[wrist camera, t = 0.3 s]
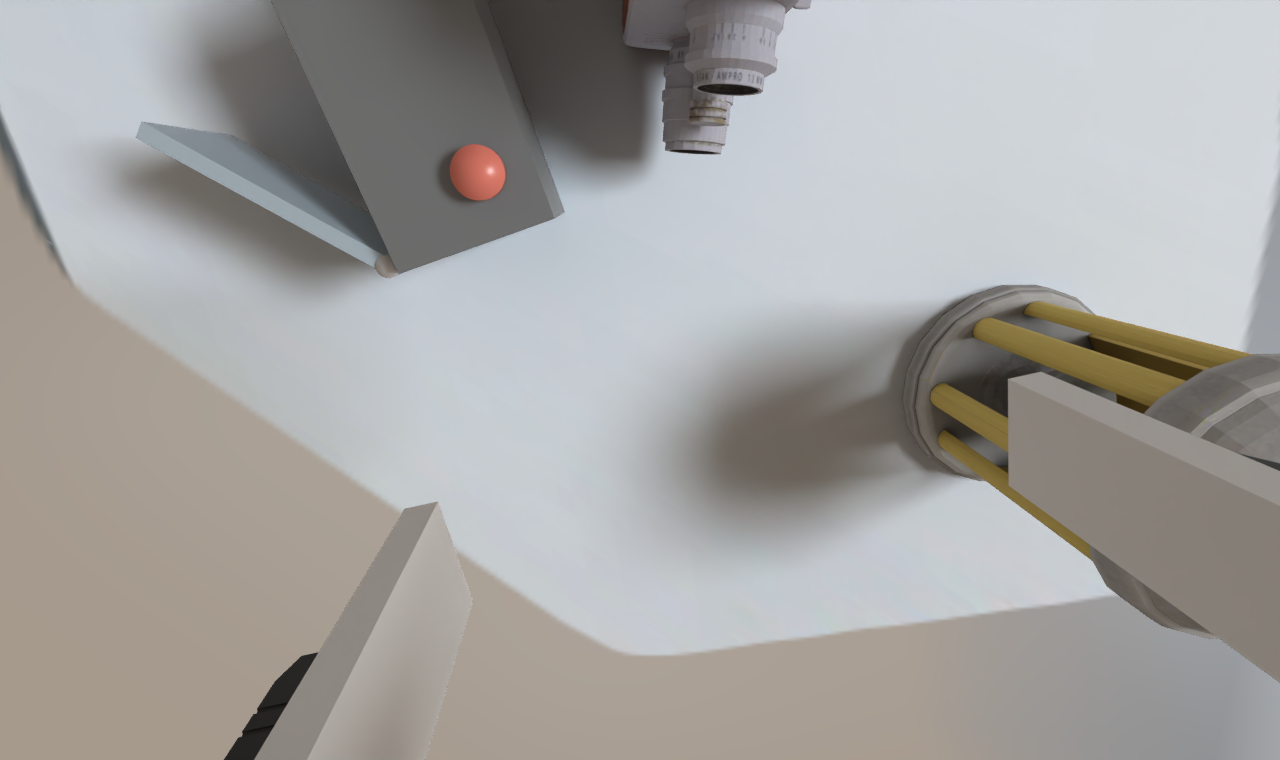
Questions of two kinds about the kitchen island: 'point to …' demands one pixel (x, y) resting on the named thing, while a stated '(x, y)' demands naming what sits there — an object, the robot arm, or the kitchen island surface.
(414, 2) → the camera block
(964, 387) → the lantern
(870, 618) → the kitchen island surface
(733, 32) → the cine camera
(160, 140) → the side door
